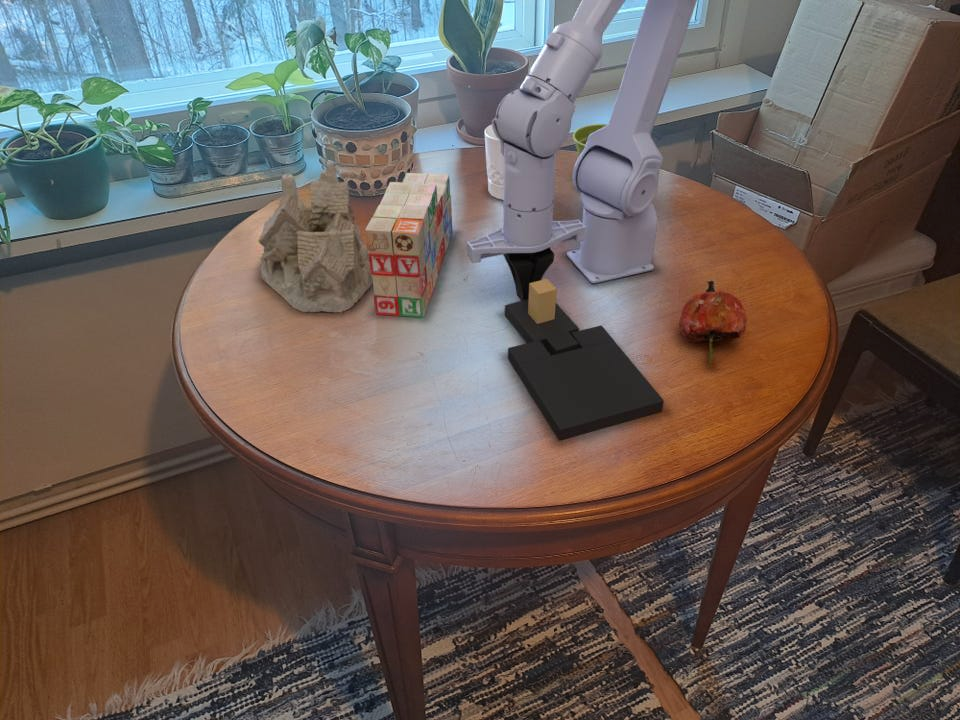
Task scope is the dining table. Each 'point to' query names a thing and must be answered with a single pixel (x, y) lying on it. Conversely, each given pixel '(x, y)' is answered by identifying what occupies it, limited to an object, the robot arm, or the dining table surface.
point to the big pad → (584, 384)
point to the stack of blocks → (409, 243)
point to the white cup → (494, 164)
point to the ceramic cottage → (315, 247)
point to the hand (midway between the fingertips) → (524, 297)
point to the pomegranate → (713, 317)
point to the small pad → (543, 331)
